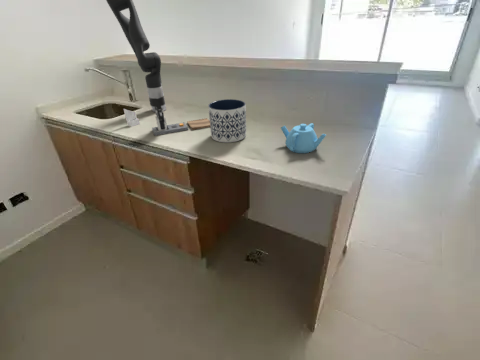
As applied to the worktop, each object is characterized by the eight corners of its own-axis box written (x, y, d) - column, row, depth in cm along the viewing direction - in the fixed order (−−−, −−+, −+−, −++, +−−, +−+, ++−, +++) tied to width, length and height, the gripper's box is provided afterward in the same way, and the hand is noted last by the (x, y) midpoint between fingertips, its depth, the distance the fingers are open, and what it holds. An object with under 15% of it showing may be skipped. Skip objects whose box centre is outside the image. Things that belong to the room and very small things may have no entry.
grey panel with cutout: (152, 130, 150) (151, 126, 149) (184, 124, 156) (184, 120, 154) (154, 135, 143) (153, 131, 142) (188, 129, 149) (187, 125, 147)
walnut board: (187, 123, 157) (187, 121, 157) (207, 120, 161) (206, 118, 160) (192, 130, 148) (192, 128, 147) (213, 126, 152) (213, 124, 151)
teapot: (309, 138, 133) (311, 116, 127) (324, 153, 119) (328, 129, 113) (279, 141, 131) (280, 119, 125) (291, 157, 117) (292, 133, 111)
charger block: (158, 130, 149) (155, 114, 144) (166, 129, 150) (163, 113, 146) (159, 133, 146) (156, 117, 141) (167, 131, 147) (164, 115, 142)
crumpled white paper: (119, 123, 154) (123, 108, 152) (135, 127, 162) (138, 113, 161) (123, 124, 152) (127, 109, 151) (138, 128, 160) (142, 114, 159)
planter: (207, 133, 144) (204, 102, 135) (239, 127, 149) (237, 97, 140) (217, 145, 129) (214, 112, 121) (251, 139, 134) (251, 106, 126)
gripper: (147, 93, 142) (153, 124, 151) (150, 100, 131) (157, 133, 140) (161, 91, 145) (167, 122, 154) (165, 98, 133) (171, 130, 142)
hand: (162, 127), depth 147 cm, fingers closed on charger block, 4 cm apart
